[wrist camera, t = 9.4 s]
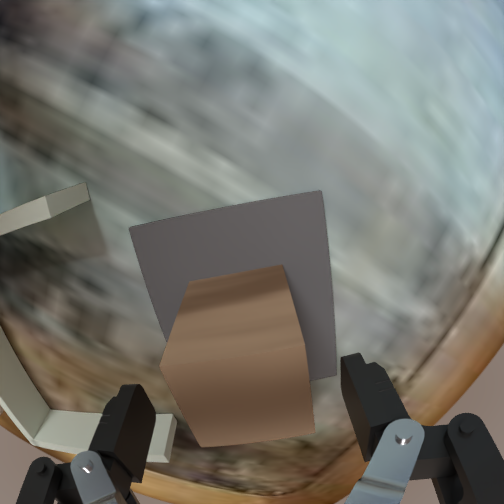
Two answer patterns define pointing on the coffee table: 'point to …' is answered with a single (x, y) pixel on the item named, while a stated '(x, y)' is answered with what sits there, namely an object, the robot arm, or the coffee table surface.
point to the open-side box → (21, 387)
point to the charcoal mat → (247, 261)
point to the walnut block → (239, 360)
